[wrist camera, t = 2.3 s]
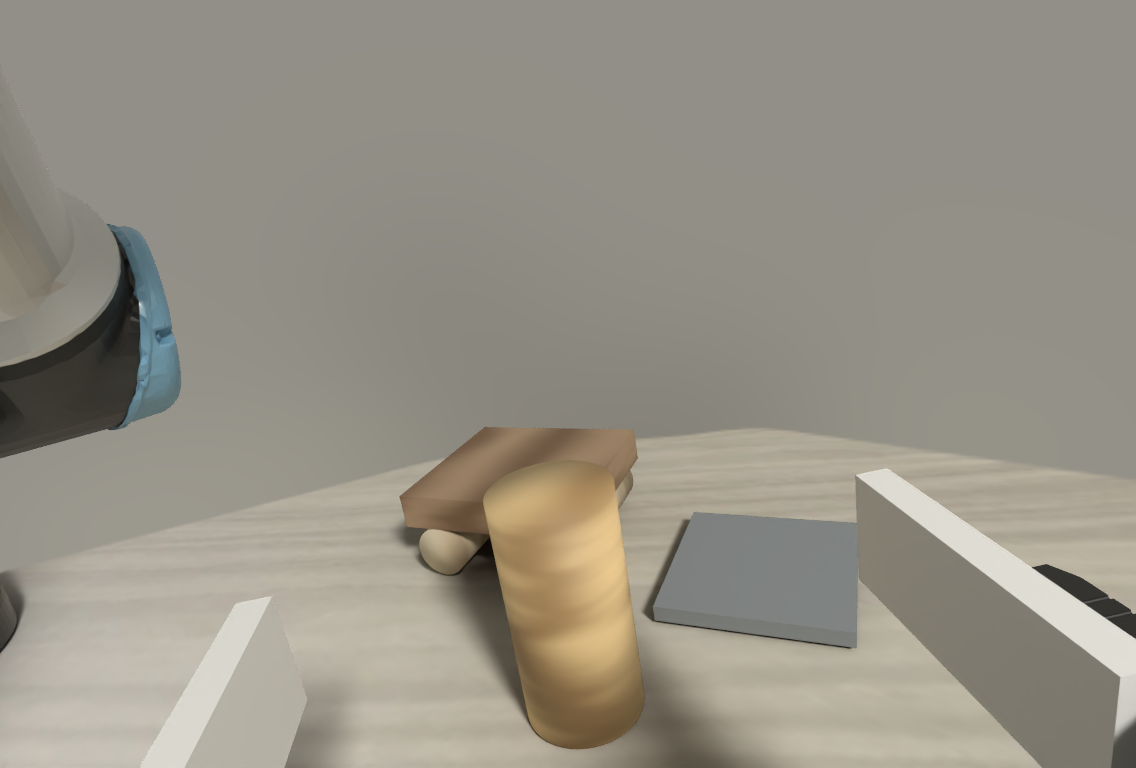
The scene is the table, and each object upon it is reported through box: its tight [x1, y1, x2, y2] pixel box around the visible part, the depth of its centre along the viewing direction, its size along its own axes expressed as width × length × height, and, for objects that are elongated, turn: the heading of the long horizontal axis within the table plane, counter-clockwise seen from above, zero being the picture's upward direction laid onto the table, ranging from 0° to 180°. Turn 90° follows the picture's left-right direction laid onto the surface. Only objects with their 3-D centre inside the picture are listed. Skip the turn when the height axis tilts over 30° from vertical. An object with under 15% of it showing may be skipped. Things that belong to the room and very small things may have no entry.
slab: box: [400, 427, 638, 575], centre depth 41 cm, size 11×10×5 cm
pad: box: [653, 512, 858, 648], centre depth 34 cm, size 9×9×1 cm
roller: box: [483, 460, 645, 749], centre depth 27 cm, size 5×5×10 cm
